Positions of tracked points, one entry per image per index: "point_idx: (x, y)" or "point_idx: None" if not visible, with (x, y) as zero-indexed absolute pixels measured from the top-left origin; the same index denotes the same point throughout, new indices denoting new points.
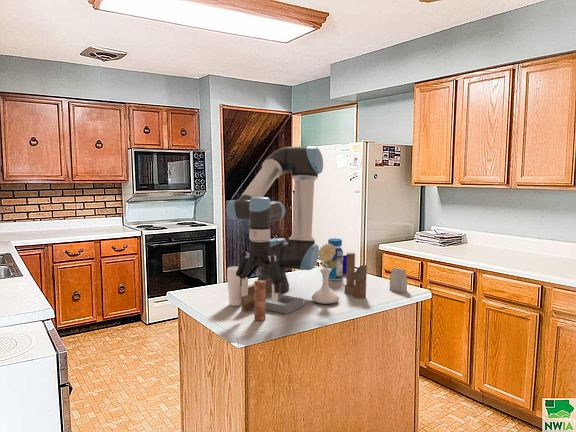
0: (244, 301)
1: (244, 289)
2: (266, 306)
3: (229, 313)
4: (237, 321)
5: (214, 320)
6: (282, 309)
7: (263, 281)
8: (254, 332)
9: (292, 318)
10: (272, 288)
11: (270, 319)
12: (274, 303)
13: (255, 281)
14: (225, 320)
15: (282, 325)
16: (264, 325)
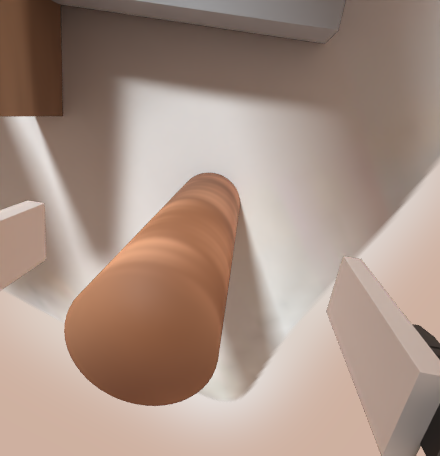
0: (12, 115)
1: (5, 270)
2: (149, 12)
3: (12, 183)
4: None
5: (29, 297)
6: (293, 32)
7: (175, 316)
8: (269, 357)
9: (386, 103)
10: (371, 408)
11: (263, 178)
12: (214, 5)
13: (80, 353)
14: (70, 279)
15: (363, 238)
16: (273, 271)
